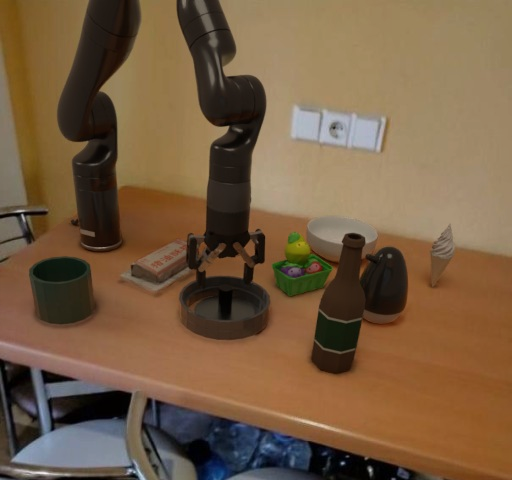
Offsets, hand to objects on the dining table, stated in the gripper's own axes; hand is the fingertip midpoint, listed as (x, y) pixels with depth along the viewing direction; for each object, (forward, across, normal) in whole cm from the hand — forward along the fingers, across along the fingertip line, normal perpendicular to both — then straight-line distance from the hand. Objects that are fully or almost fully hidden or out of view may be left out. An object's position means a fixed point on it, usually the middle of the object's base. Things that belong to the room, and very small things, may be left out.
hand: (224, 284), depth 105 cm
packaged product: (+8, +8, -20) cm, 22 cm away
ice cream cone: (+7, -49, -3) cm, 50 cm away
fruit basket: (+7, -19, -9) cm, 22 cm away
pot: (+7, +29, -8) cm, 31 cm away
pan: (+7, 0, 0) cm, 7 cm away
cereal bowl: (+7, -34, -21) cm, 41 cm away
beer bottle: (+7, -15, +18) cm, 25 cm away
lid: (+6, 0, 0) cm, 6 cm away
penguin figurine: (+7, -30, +6) cm, 32 cm away
